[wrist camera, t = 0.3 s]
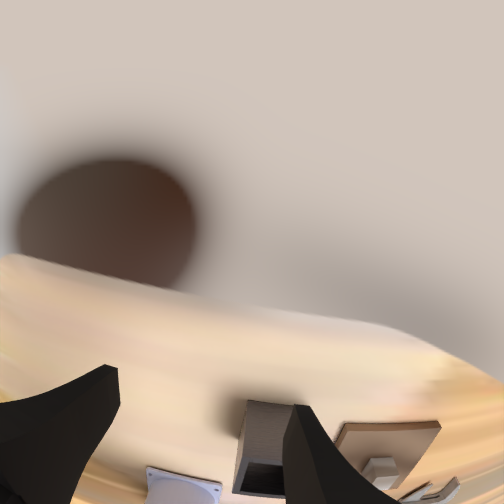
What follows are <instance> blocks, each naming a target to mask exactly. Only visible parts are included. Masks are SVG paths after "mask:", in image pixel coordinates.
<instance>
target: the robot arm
mask: <svg viewBox="0 0 504 504" xmlns="http://www.w3.org/2000/svg"><path fill="white" fill-rule="evenodd" d="M119 407H120V393H119V381H118V368H115V367H112V366H109V365H106V364H104V365H102V366H100V367H98V368H96V369H94V370H92V371H90V372H88V373H87V374H85V375H83V376H81V377H79V378H77V379H75V380H73V381H71V382H69V383H67V384H64V385H62V386H60V387H57V388H55V389H53V390H50V391H48V392H45V393H42V394H39V395H36V396H33V397H29V398H25V399H21V400H16V401H10V402H4V403H0V504H70V502H71V499H72V496H73V494H74V491H75V489H76V486H77V484H78V481H79V479H80V477H81V474H82V472H83V470H84V468H85V466H86V464H87V462H88V460H89V458H90V457H91V455H92V453H93V452H94V450H95V449H96V447H97V446H98V444H99V443H100V441H101V440H102V438H103V436H104V435H105V433H106V432H107V430H108V429H109V427H110V425H111V424H112V422H113V420H114V418H115V416H116V413H117V411H118V409H119ZM282 465H283V476H284V487H285V498H286V504H402V503H400V502H398V501H396V500H395V499H393V498H391V497H390V496H388V495H386V494H385V493H383V492H382V491H381V490H379V489H378V488H377V487H375V486H374V485H373V484H371V483H370V482H369V481H368V480H366V479H365V478H364V477H363V476H362V475H361V474H360V473H359V472H358V471H357V470H356V469H355V468H354V467H353V466H352V465H351V464H350V463H349V462H348V461H347V460H346V459H345V457H344V456H343V455H342V454H341V452H340V451H339V450H338V449H337V447H336V446H335V445H334V443H333V442H332V440H331V439H330V438H329V436H328V435H327V433H326V432H325V430H324V429H323V427H322V425H321V424H320V422H319V420H318V419H317V417H316V415H315V414H314V412H313V410H312V409H311V407H310V406H306V405H296V404H294V407H293V410H292V413H291V416H290V419H289V422H288V425H287V428H286V431H285V434H284V437H283V448H282ZM146 476H147V484H148V495H147V498H146V500H145V503H144V504H218V503H219V499H220V495H221V491H222V485H221V484H220V483H215V482H209V481H204V480H199V479H195V478H190V477H186V476H182V475H177V474H173V473H170V472H166V471H162V470H158V469H155V468H151V467H147V469H146Z"/></svg>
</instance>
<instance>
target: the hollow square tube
mask: <svg viewBox="0 0 504 504" xmlns="http://www.w3.org/2000/svg"><path fill="white" fill-rule="evenodd" d="M293 407H294V406H289V405H280V404H273V403H265V402H258V401H252V400H248V403H247V407H246V411H245V415H244V420H243V424H242V428H241V432H240V437H239V441H238V449H237V457H236V465H235V472H234V480H233V488H232V493H234V494H241V495H249V496H257V497H268V498H281V499H286V498H285V487H284V476H283V465H282V448H283V437H284V434H285V431H286V428H287V425H288V422H289V419H290V416H291V413H292V410H293Z"/></svg>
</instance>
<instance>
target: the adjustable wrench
mask: <svg viewBox="0 0 504 504" xmlns="http://www.w3.org/2000/svg"><path fill="white" fill-rule="evenodd" d="M432 485H433V484H432V483H431V484H429V485H427V486H425V487H424V488H422V489H420V490H418V491H416V492H415V493H413V494H411V495H410V496H408V497H406V498H402V499H399V501H398V502H400V503H402V504H446V503H447V502H449V501H450V500H451V499H452V498H453V497H454V496H455V495H456V493H457V492H458V490H459V488H460V483H459V481H458V479H457V477H455V478H454V479H453V480H452V481H451V482H450V483H449V484H448V485H447V486H446V487H445V488H444V489H443V490H442V491H441V492H439V493H437V494H433V495H426V496H423V495H424V494H425V493H426V492H427V491H428V490H429V488H430V487H431V486H432Z"/></svg>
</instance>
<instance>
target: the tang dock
mask: <svg viewBox="0 0 504 504" xmlns="http://www.w3.org/2000/svg"><path fill="white" fill-rule="evenodd" d="M441 428H442V427H441V425H440V424H439V422H438V421H434V422H420V423H398V424H353V423H345V426H344V428H343V430H342V432H341V434H340V436H339V438H338V440H337V442H336V444H335V446H336V447H337V449H338V450H339V451H340V452H341V454H342V455H343V456H344V457H345V459H346V460H347V461H348V462H349V463H350V464H351V465H352V466H353V467H354V468H355V469H356V470H357V471H358V472H359V473H360V474H361V475H362V476H363V477H364V478H365V479H366V480H368V481H369V482H370V483H371V484H373V485H374V486H375V487H377V488H378V489H379V490H389V489H397V488H398V487H399V486H400V485H401V483H402V482H403V481H404V480H405V478H406V477H407V476H408V475H409V473H410V472H411V471H412V469H413V468H414V467H415V465H416V464H417V463H418V461H419V460H420V459H421V457H422V456H423V455H424V453H425V452H426V450H427V449H428V447H429V446H430V445H431V443H432V442H433V440H434V439H435V437H436V436H437V434H438V433H439V431H440V429H441Z"/></svg>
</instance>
